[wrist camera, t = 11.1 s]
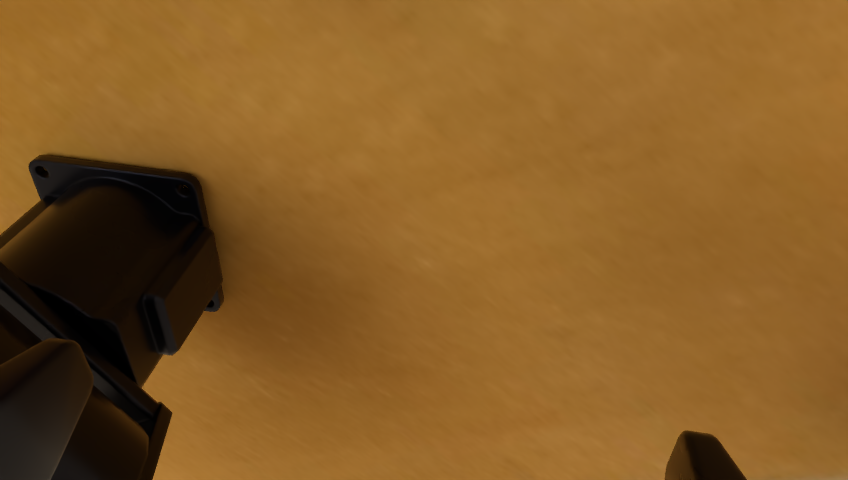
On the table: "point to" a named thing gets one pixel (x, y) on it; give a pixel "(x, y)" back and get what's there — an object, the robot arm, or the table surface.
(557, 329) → the table surface
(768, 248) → the table surface
